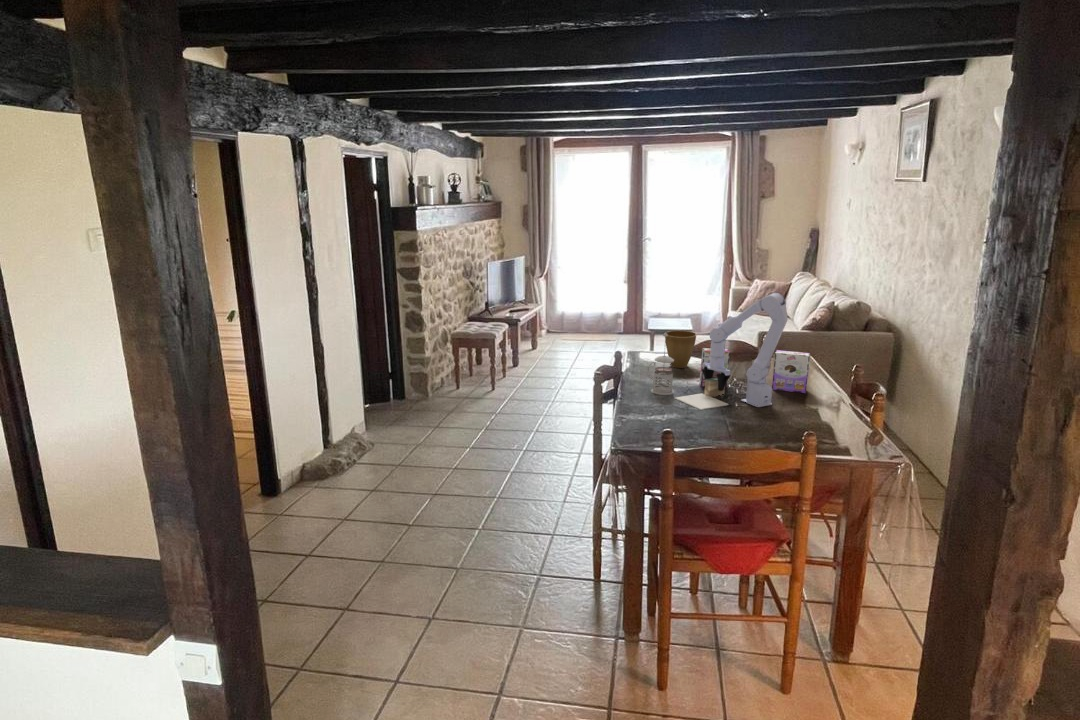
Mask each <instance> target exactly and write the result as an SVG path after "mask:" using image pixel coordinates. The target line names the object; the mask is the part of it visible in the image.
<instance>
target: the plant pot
mask: <svg viewBox="0 0 1080 720" xmlns="http://www.w3.org/2000/svg"><path fill="white" fill-rule="evenodd" d="M664 333H667V334H668V336H666V343H665V349H666V351H667V356H668V357H671V358H672V359H674V362H672V363H670V365H671V367H672V368H677V369H678V368H679V369H681V368H683V369H684V368H687V367H688V365H689V362H690V360H691V357H692V355H693V351H694V348H695V344H696V340H697V333H696V332H695V331H694V332H693V331H690V330H689V331H688V330H668V331H666V332H664Z"/></svg>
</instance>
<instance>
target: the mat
mask: <svg viewBox="0 0 1080 720" xmlns="http://www.w3.org/2000/svg"><path fill="white" fill-rule="evenodd" d="M674 399H675V400H677V401H679V402H681V403H684V404H686V405H688V406H690V407H693V408H695V409H697V410H700V411H703V410H708V409H713V408H714V409H715V408H719V407H725V406H729V403H727V402H725V401H722V400H719V399H717V398H715V397H710V396H707V395H705V394H704V393H695V394H690V395H682V396H677V397H674Z"/></svg>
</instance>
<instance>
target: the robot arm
mask: <svg viewBox="0 0 1080 720" xmlns="http://www.w3.org/2000/svg"><path fill="white" fill-rule="evenodd" d="M759 312H761V313H762V312H764V313H766V314H767V315H768V316H769V318H770V319H771V323H770V326H769V329H768V331H767V333H766V336H765V338H764V340H763V343H762V345H761V347H760V350H759V352H758V354H757V357H756V358H755V359H754V361H753V363H752V365H751V366H750V367H749V368H747V371H746V373H745V374H746V378H747V382H746V394H745V398H743V399H740V402H742V403H745V402H746V403H745V404H747V405H750V406H753V407H756V408H762V407H768V406H772V405H773V403H772V398H773V397H772V395H773V390H772V386H771V385H769V384H768V381H767V376H768V375H769V373H770V365H771V359H772V358H773V354H774V353H775V350H776V348H777V345H778V344H779V341H780V339H781V336H782V334H783V331H784V329H785V327H786V324H787V322H788V320H789V319H788V318H789V317H788V312H787V301H786V299H785V298H784V296H783V295H782V294H781V293H778V292H773V293H771V294H769V295H766V296H764V297H763V298H761V299H758V300H756V301H755V302H753V303H752V304H751V305H749V306H748V307H747V308H745V310H743V311H742V312H741V313H739V314H738V315H729V316H727V317H726V320H724V321H723V322H722V323H721V322H720V323H718V324H717V327H714V328H712V329H711V330H710V332H709V339H710V340H711V341H710V348H711V349H710V362H709V363H707V362H704V363H703V367H704V369H702V372H703V375H704V378H705V379H710V378H712V377H713V373H714V371H717V372H719V373H721V374H717V378H718V391H723V390H724V387H725V384H726V382H727V383H728V380H729V379H730V378H731V370H730V369H729V368H728V369H726V368H725V367H724V355H725V349H726V341H727V340H726V339H728V337H729V336H731V335H732V334H734V333H735V332H736V331H738V330H739V329H741V328H742V326H743V322H744V321H746V320H748V319H749V318H751V317H752V316H754V315H755V314H756V313H759Z"/></svg>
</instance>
